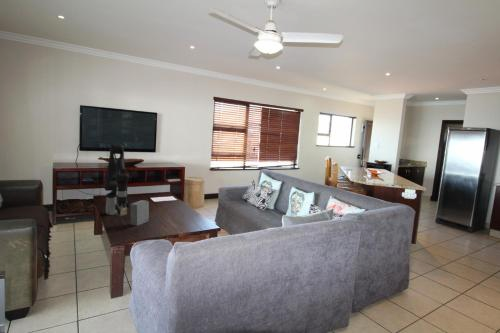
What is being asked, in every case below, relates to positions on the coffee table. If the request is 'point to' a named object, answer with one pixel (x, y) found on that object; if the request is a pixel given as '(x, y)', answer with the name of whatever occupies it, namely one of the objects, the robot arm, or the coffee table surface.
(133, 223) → the hard drive box
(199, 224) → the coffee table surface
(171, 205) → the coffee table surface
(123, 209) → the maple cube
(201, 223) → the coffee table surface
